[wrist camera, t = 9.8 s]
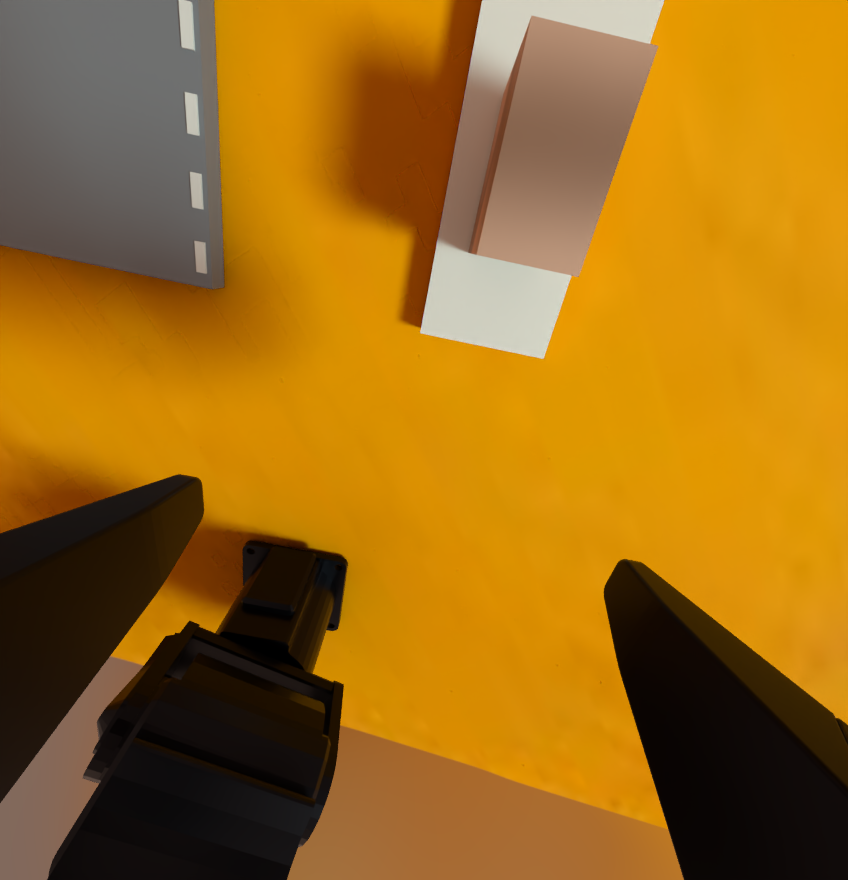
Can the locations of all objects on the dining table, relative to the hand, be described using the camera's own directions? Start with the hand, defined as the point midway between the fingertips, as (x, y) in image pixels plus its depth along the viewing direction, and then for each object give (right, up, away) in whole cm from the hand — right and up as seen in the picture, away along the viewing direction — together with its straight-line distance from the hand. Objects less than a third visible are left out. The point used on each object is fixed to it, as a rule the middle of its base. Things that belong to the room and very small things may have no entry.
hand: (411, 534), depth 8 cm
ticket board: (-14, +15, +7) cm, 22 cm away
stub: (+4, +12, +7) cm, 14 cm away
